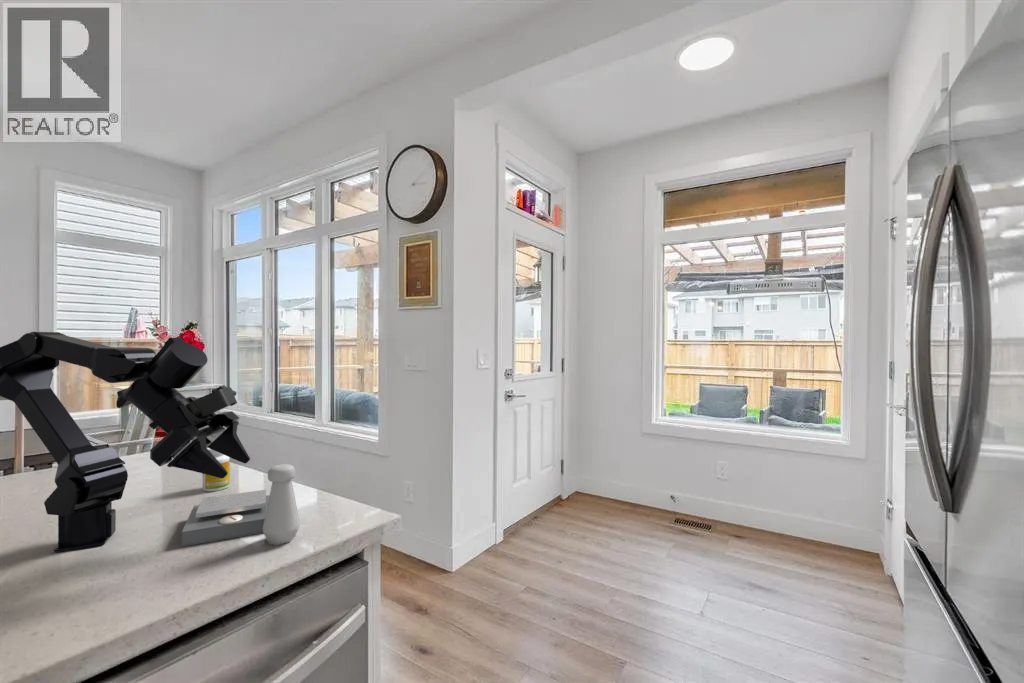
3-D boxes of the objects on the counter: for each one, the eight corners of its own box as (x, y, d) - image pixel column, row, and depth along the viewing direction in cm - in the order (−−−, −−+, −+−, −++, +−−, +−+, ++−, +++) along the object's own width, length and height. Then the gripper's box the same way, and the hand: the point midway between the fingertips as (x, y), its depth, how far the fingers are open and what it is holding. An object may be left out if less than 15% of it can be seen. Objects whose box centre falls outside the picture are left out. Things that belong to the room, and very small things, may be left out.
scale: (181, 546, 77) (181, 529, 77) (193, 518, 90) (193, 503, 90) (274, 530, 84) (274, 514, 84) (274, 506, 96) (274, 492, 96)
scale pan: (195, 517, 82) (195, 513, 82) (202, 502, 89) (202, 498, 89) (265, 507, 87) (265, 503, 87) (266, 493, 95) (266, 489, 95)
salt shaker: (284, 548, 76) (284, 471, 76) (254, 545, 78) (254, 469, 78) (306, 534, 82) (306, 462, 82) (278, 531, 83) (278, 460, 83)
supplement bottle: (234, 487, 109) (234, 446, 109) (209, 493, 104) (209, 451, 104) (222, 483, 112) (222, 443, 112) (198, 489, 107) (198, 448, 107)
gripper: (172, 376, 69) (252, 446, 71) (227, 368, 87) (289, 424, 89) (113, 430, 67) (196, 500, 69) (181, 411, 86) (245, 467, 88)
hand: (237, 468), depth 79 cm, fingers open, 9 cm apart
